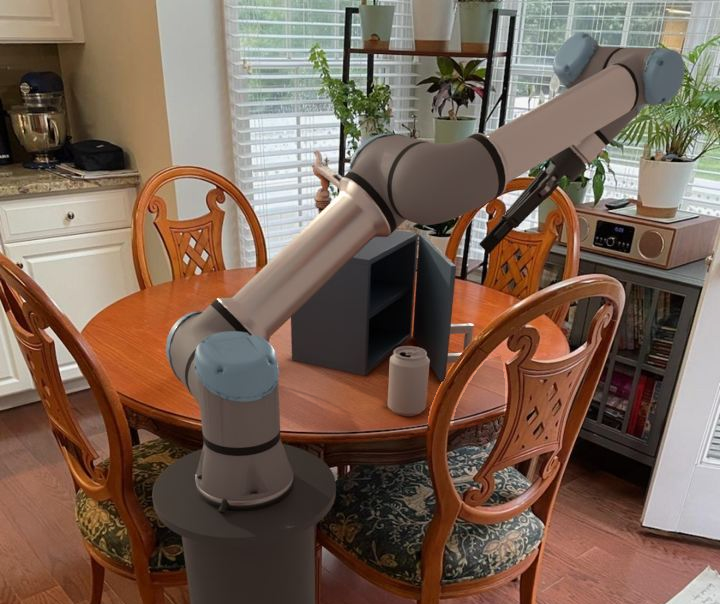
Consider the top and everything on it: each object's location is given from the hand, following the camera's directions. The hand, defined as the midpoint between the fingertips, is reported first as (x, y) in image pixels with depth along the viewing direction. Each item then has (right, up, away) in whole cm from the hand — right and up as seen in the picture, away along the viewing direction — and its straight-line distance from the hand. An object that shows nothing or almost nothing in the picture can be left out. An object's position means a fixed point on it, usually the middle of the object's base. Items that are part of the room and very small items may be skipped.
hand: (484, 248), depth 144 cm
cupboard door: (-7, -19, +17) cm, 27 cm away
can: (-16, -33, -6) cm, 37 cm away
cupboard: (-27, -16, +21) cm, 38 cm away
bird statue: (-34, +15, +71) cm, 80 cm away
